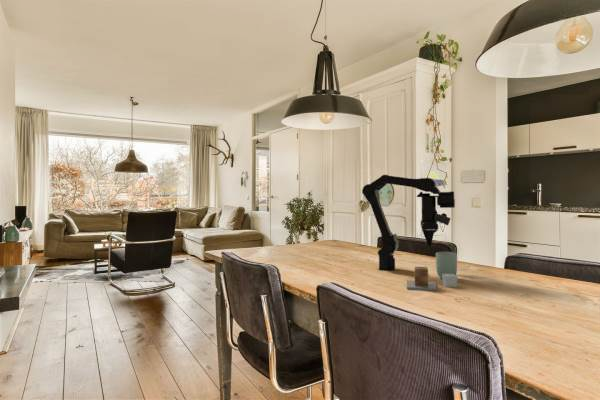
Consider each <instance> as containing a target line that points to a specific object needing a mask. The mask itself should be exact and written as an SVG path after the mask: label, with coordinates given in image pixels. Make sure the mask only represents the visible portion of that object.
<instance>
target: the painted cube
mask: <svg viewBox="0 0 600 400" xmlns="http://www.w3.org/2000/svg"><path fill="white" fill-rule="evenodd" d="M441 285H442V286H444V287H445V288H457V287H458V275H457V274H456V275H454V274H442V278H441Z"/></svg>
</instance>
